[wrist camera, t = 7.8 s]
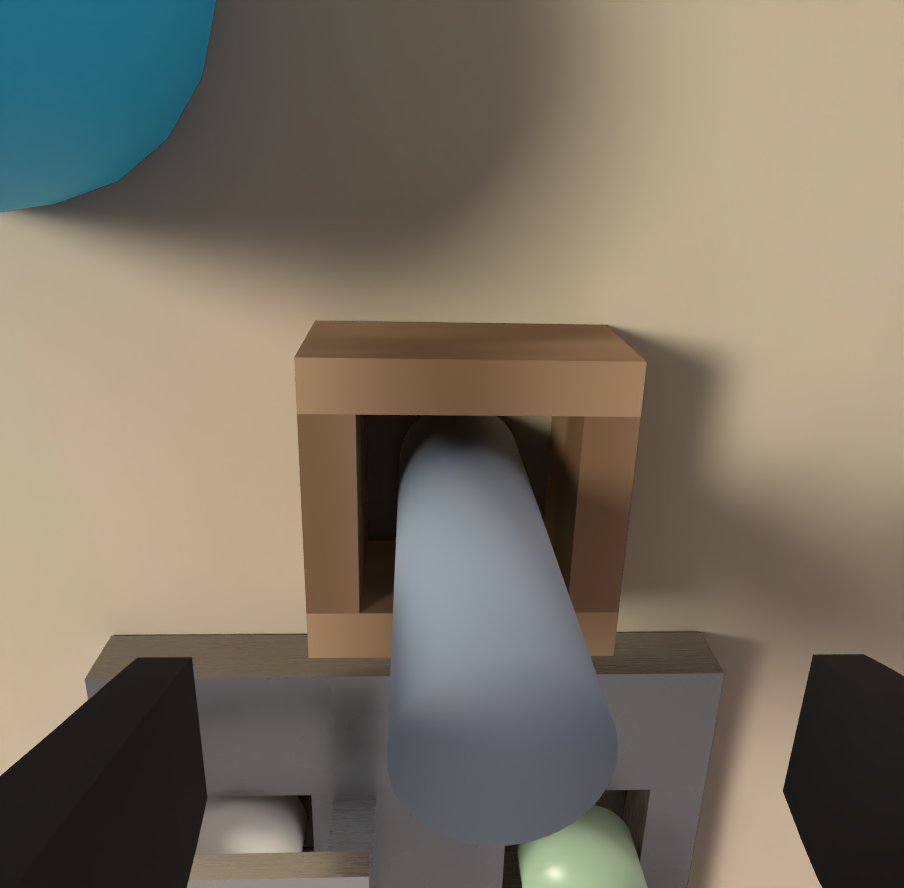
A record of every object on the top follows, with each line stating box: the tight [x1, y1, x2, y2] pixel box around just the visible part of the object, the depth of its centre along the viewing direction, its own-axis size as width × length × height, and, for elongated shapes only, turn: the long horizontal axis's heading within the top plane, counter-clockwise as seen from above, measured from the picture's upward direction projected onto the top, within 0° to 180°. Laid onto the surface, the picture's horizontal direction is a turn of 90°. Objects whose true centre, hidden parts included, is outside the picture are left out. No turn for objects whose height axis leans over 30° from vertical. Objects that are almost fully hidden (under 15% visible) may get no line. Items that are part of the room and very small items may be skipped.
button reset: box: [195, 795, 307, 854], centre depth 19 cm, size 3×3×2 cm
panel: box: [85, 632, 724, 888], centre depth 18 cm, size 14×10×5 cm
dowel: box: [387, 415, 618, 846], centre depth 13 cm, size 3×3×9 cm
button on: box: [518, 805, 648, 888], centre depth 18 cm, size 3×3×2 cm
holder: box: [294, 321, 647, 658], centre depth 16 cm, size 6×6×3 cm
